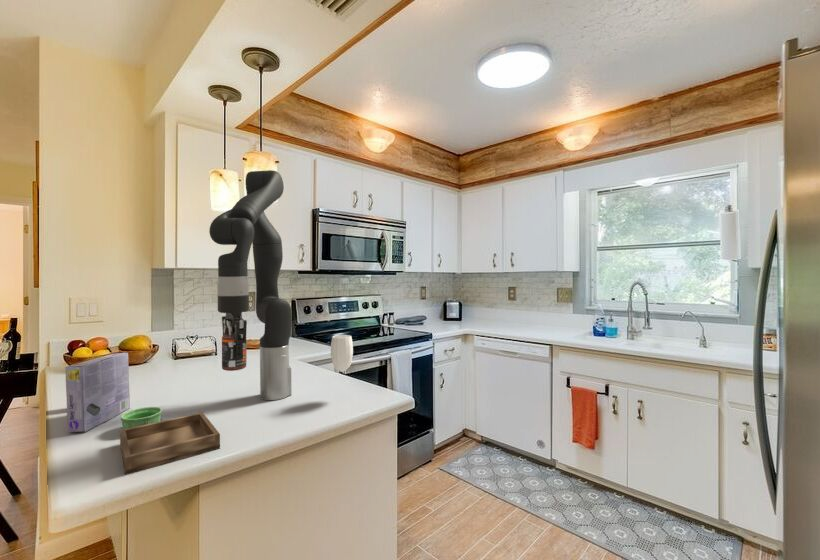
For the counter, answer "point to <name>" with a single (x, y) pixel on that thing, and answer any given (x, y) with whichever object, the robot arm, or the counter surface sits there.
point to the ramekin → (141, 417)
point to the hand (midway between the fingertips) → (234, 356)
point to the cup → (341, 352)
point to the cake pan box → (96, 391)
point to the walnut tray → (167, 441)
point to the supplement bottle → (231, 354)
